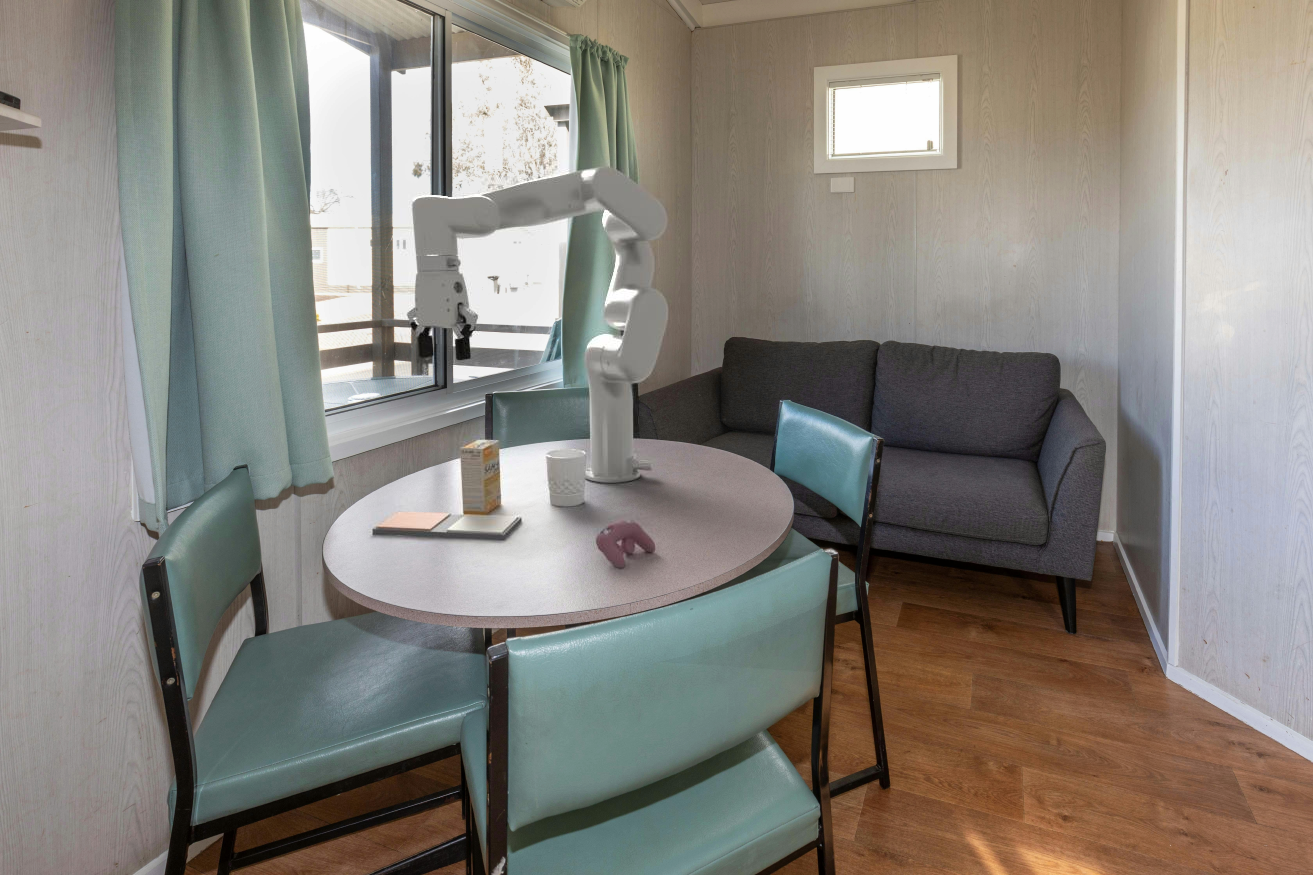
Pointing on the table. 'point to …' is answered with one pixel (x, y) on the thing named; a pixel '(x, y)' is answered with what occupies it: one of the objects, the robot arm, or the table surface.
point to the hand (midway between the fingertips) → (444, 358)
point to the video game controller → (622, 541)
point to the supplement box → (480, 476)
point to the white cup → (566, 476)
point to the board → (449, 525)
